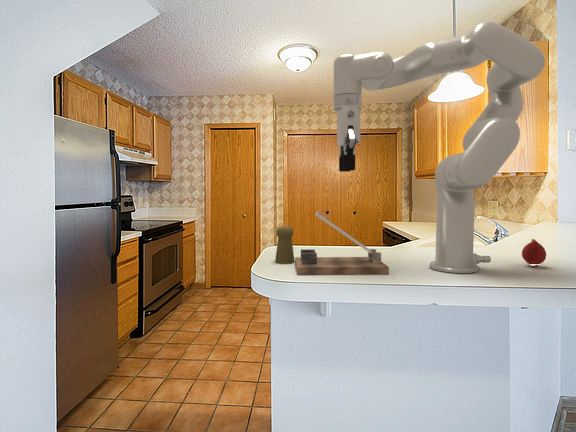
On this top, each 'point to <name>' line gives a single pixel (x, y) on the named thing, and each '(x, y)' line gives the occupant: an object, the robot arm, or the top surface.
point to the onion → (534, 253)
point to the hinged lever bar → (324, 218)
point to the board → (339, 264)
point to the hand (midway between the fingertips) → (346, 170)
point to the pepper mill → (284, 246)
